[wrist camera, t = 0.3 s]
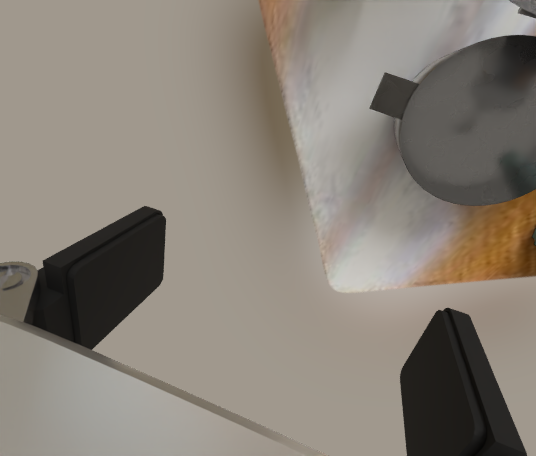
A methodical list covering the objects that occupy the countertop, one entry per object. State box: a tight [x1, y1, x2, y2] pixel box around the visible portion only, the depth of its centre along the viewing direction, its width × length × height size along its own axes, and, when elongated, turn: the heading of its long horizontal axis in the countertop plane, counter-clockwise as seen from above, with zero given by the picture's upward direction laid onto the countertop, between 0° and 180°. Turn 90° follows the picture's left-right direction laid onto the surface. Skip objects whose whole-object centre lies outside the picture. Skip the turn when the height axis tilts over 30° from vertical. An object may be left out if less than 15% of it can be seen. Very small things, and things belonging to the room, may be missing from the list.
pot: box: [369, 35, 536, 206], centre depth 29 cm, size 13×19×9 cm
